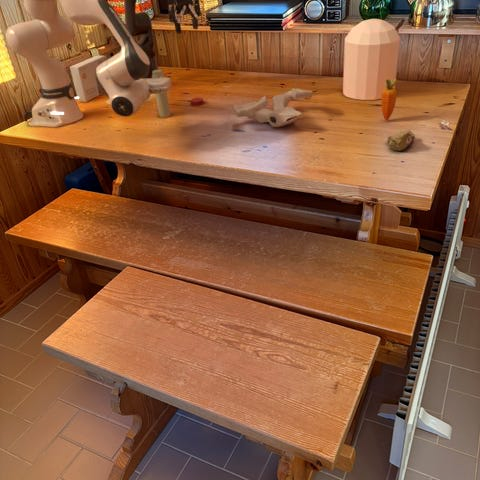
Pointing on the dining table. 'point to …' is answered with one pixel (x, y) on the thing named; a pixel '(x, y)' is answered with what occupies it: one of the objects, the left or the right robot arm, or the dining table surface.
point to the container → (370, 59)
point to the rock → (400, 140)
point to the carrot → (388, 99)
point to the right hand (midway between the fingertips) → (187, 31)
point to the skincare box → (86, 78)
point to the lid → (197, 101)
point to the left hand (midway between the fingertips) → (148, 79)
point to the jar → (162, 98)
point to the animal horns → (280, 112)
